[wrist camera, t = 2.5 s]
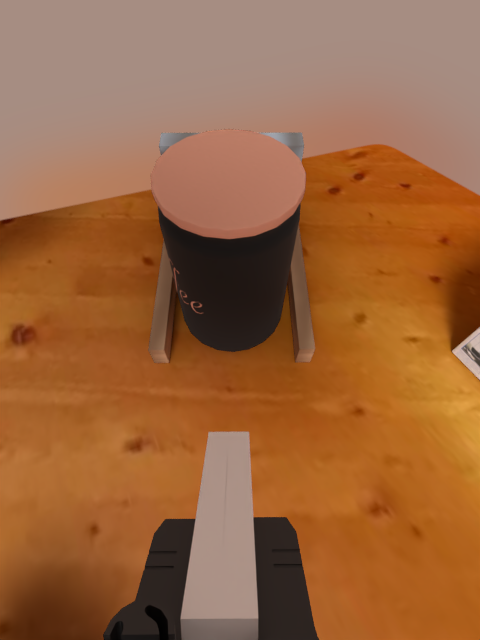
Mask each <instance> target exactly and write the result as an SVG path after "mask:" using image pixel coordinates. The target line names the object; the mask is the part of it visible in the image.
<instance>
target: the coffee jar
mask: <svg viewBox="0 0 480 640" xmlns="http://www.w3.org/2000/svg"><path fill="white" fill-rule="evenodd" d="M305 182H306V172H305V170H304V168H303V165H302V163H301V161H300V158H299V157H298V156H297V155H296V154H295V153H294V152H293V151H292V150H291V149H290V148H289V147H288V146H286V145H285V144H283V143H281V142H279V141H277V140H275V139H274V138H272V137H270V136H266V135H263V134H259V133H256V132H252V131H246V130H233V129H224V130H214V131H206V132H202V133H199V134H196V135H192V136H189V137H186V138H184V139H183V140H181V141H179V142H177V143H176V144H174V145H172V146H170V147H169V148H168V149H167V150H166V151H165V152H164V153H163V154H162V155H161V156H160V157H159V158H158V159H157V161H156V164H155V166H154V169H153V171H152V173H151V186H152V194H153V196H154V199H155V201H156V203H157V205H158V211H159V223H160V226H161V230H162V234H163V238H164V242H165V246H166V250H167V254H168V258H169V261H170V265H171V269H172V273H173V277H174V281H175V285H176V289H177V293H178V296H179V300H180V304H181V308H182V312H183V316H184V320H185V322H186V324H187V326H188V328H189V330H190V332H191V333H192V334H193V335H194V336H195V337H196V338H197V339H198V340H199V341H201V342H202V343H203V344H205V345H208V346H210V347H212V348H214V349H217V350H223V351H231V352H235V351H241V350H247V349H250V348H252V347H254V346H256V345H258V344H260V343H262V342H264V341H265V340H266V339H267V338H268V337H269V336H270V335H271V334H272V333H273V332H274V331H275V329H276V327H277V325H278V323H279V321H280V317H281V312H282V307H283V302H284V297H285V292H286V287H287V281H288V276H289V271H290V266H291V261H292V256H293V251H294V246H295V240H296V235H297V230H298V225H299V219H300V202H301V200H302V199H303V195H304V192H305Z"/></svg>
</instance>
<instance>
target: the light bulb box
mask: <svg viewBox="0 0 480 640" xmlns="http://www.w3.org/2000/svg"><path fill="white" fill-rule="evenodd" d="M452 353H453V354H454V355H455V356H456V357H457V358H458V359H459V360H460V361H461V362H462V363H463V364H464V365H465V366H466V367H467V368H468V369H469V370H470V371H471V372H472V373H473V374H474V375H475V376H476V377H477V378H478V379H479V380H480V327H479V328H478V329H477V330H475V331H474V332H473V333H472V334H471V335H469V336H468V337H467V338H466V339H465V340H464V341H463V342H461V343H460V344H459V345H458V346H457V347H456V348H454V349H453V350H452Z"/></svg>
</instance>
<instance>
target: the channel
mask: <svg viewBox="0 0 480 640" xmlns="http://www.w3.org/2000/svg"><path fill="white" fill-rule="evenodd" d="M196 134H199V133H161V138H160V144H159V148H160V153H161V155H162V154H163V153H164V152H165V151H166V150H167V149H168V148H169V147H170V146H172V145H174V144H176V143H177V142H179V141H181V140H183V139H184V138H186V137H189V136H192V135H196ZM259 134H263V135H266V136H270V137H272V138H274V139H275V140H277V141H279V142H281V143H283V144H285V145H286V146H288V147H289V148H290V149H291V150H292V151H293V152H294V153H295V154H296V155H297V156H298V157H299V158H300V161H302V155H303V149H304V143H303V137H302V133H259ZM288 291H289V302H290V312H291V323H292V333H293V343H294V354H295V362H310V360H311V358H312V356H313V353H314V351H315V344H314V336H313V328H312V321H311V313H310V305H309V298H308V290H307V283H306V275H305V267H304V260H303V252H302V244H301V237H300V229H299V225H298V230H297V235H296V240H295V246H294V251H293V256H292V261H291V266H290V271H289V276H288ZM176 294H177V289H176V285H175V281H174V277H173V273H172V269H171V265H170V261H169V258H168V254H167V250H166V246H165V242H163V249H162V256H161V263H160V271H159V278H158V285H157V292H156V299H155V306H154V313H153V320H152V327H151V334H150V341H149V349H148V351H149V353H150V355H151V357H152V359H153V361H154V363H169V361H170V351H171V342H172V332H173V323H174V313H175V304H176Z"/></svg>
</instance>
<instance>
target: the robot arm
mask: <svg viewBox="0 0 480 640" xmlns="http://www.w3.org/2000/svg"><path fill="white" fill-rule="evenodd" d="M103 637H104V640H319V638H318V637H317V633H316V630H315V627H314V622H313V617H312V612H311V607H310V601H309V596H308V591H307V586H306V580H305V575H304V570H303V567H302V560H301V554H300V549H299V544H298V539H297V534H296V531H295V529H294V528H293V527H292V525H291V524H290V522H289V521H288V519H287V518H286V517H253V502H252V482H251V462H250V442H249V432H209V434H208V441H207V448H206V454H205V461H204V467H203V474H202V480H201V487H200V494H199V500H198V507H197V513H196V519H165V520H164V522H163V523H162V524H161V526H160V527H159V528H158V529H157V531H156V532H155V533H154V536H153V540H152V543H151V547H150V550H149V555H148V557H147V561H146V564H145V570H144V571H143V575H142V579H141V582H140V586H139V589H138V593H137V596H136V600H135V601H134V602H132V603H131V604H129V605H127V606H125V607H124V608H122V609H121V610H120V611H119V612H118V613H117V614H116V615H115V616H114V617H113V618H112V620H111V621H110V623H109V625H108V627H107V629H106V631H105V632H104V634H103Z"/></svg>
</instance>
